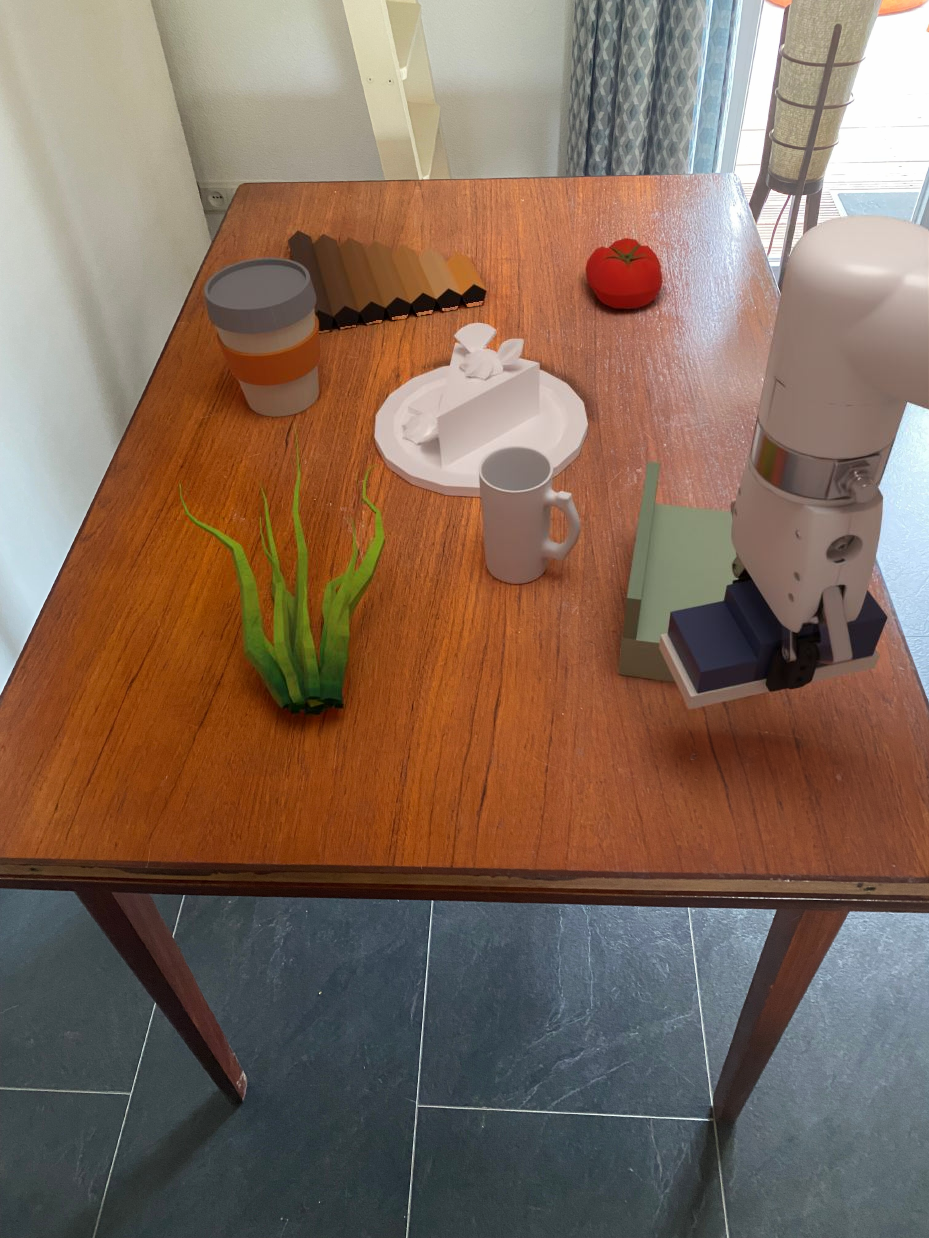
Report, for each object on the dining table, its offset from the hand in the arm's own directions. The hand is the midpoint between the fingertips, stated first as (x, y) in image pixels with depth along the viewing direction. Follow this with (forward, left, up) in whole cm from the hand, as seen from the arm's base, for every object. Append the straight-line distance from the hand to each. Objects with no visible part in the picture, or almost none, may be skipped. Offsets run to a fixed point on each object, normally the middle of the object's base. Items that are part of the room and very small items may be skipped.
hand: (767, 647), depth 65 cm
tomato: (+18, -73, -13) cm, 76 cm away
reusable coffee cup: (+57, -43, -13) cm, 72 cm away
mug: (+21, -18, -13) cm, 30 cm away
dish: (+31, -40, -13) cm, 52 cm away
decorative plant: (+43, -9, -13) cm, 45 cm away
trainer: (0, 0, -1) cm, 1 cm away
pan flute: (+53, -74, -13) cm, 92 cm away
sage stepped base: (+5, -15, -13) cm, 20 cm away
